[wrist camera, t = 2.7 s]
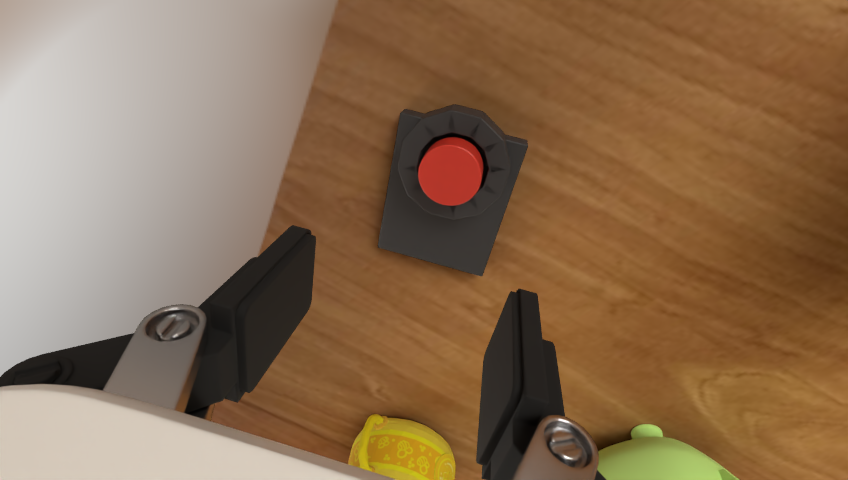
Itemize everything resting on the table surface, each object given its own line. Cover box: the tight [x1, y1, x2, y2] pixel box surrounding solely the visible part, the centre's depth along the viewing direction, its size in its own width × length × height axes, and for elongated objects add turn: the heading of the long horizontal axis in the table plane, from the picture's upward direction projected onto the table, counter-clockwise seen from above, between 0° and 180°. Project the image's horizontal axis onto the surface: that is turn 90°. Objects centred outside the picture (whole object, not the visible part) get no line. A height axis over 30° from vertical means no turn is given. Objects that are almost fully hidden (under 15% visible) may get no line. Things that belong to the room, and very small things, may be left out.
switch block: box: [378, 104, 528, 276], centre depth 26 cm, size 11×8×3 cm
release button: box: [418, 137, 483, 206], centre depth 23 cm, size 4×4×2 cm
